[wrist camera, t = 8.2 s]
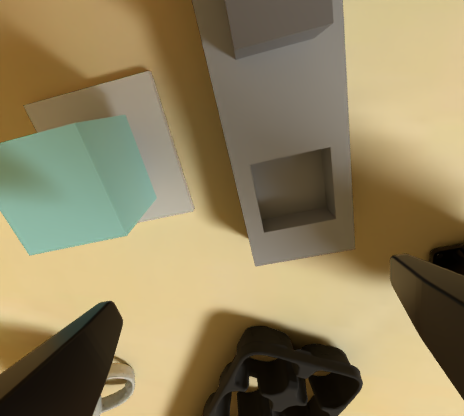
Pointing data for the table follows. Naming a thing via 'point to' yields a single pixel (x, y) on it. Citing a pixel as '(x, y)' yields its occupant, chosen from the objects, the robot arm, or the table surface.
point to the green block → (74, 184)
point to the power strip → (284, 120)
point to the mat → (142, 126)
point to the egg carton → (284, 378)
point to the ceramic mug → (122, 395)
